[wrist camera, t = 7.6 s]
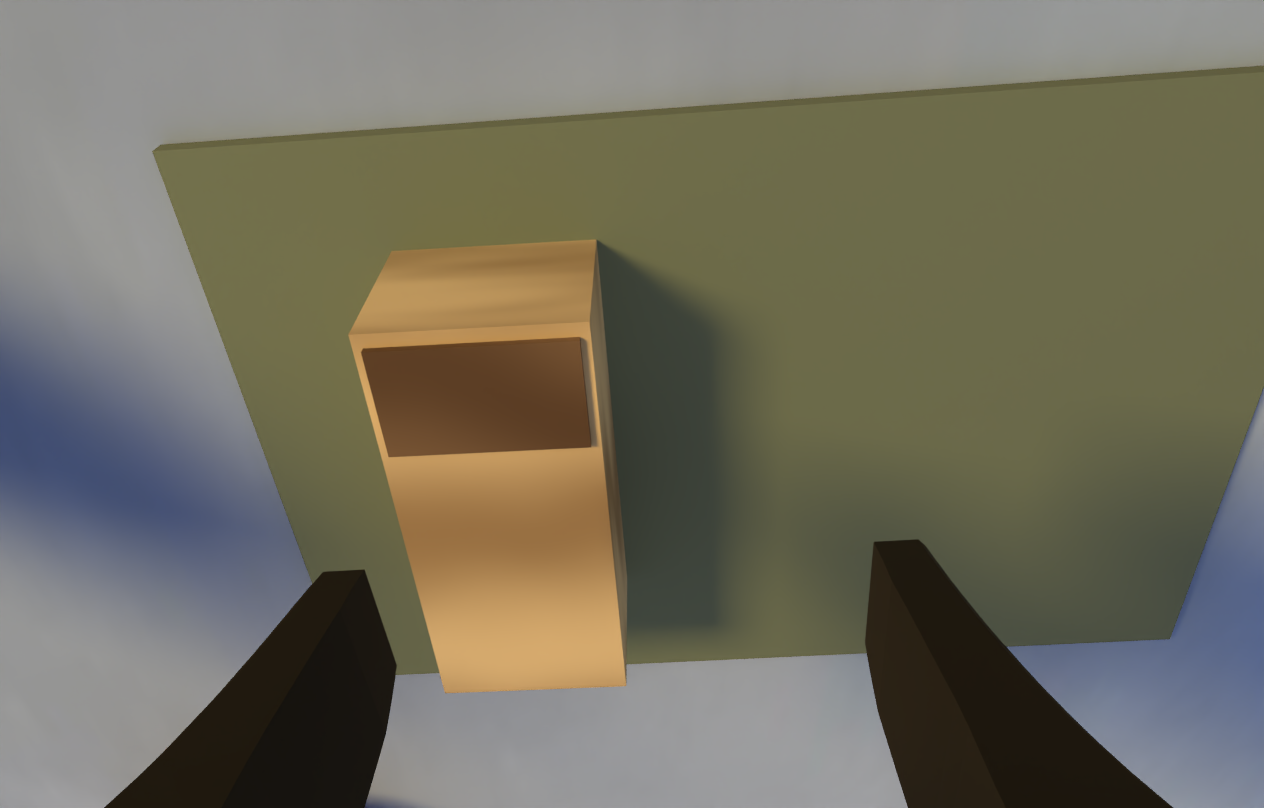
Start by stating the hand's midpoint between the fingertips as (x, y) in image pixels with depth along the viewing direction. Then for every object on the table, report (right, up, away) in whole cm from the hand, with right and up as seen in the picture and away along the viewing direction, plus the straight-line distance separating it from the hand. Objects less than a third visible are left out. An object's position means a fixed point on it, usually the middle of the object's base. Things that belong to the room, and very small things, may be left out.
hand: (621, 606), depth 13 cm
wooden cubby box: (-3, +2, +9) cm, 10 cm away
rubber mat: (+3, +2, +10) cm, 10 cm away
